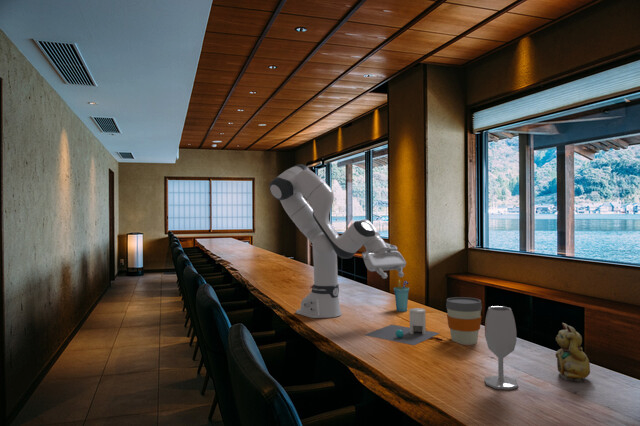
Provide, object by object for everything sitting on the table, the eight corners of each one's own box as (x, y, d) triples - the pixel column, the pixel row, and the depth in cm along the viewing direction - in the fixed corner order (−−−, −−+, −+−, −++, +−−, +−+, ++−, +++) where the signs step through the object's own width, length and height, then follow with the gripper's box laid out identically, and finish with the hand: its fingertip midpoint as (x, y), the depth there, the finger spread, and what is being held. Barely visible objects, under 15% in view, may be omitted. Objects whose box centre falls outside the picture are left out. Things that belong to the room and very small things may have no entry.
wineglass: (478, 379, 129) (477, 305, 129) (508, 377, 130) (507, 304, 130) (493, 391, 120) (491, 312, 120) (524, 389, 121) (523, 311, 121)
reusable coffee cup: (444, 344, 163) (444, 302, 163) (448, 335, 175) (447, 296, 175) (481, 347, 158) (481, 304, 158) (483, 338, 170) (482, 298, 170)
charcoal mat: (363, 336, 175) (363, 334, 175) (391, 325, 191) (391, 324, 190) (414, 346, 161) (414, 345, 161) (440, 334, 176) (440, 333, 176)
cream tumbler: (406, 333, 177) (406, 310, 177) (414, 330, 181) (414, 307, 181) (420, 335, 173) (420, 312, 173) (428, 332, 177) (428, 309, 177)
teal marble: (394, 337, 171) (393, 329, 170) (398, 336, 173) (398, 328, 173) (401, 339, 169) (400, 331, 169) (405, 337, 171) (405, 329, 171)
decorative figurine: (551, 371, 135) (550, 320, 135) (581, 371, 134) (580, 320, 134) (565, 383, 125) (565, 328, 125) (597, 384, 124) (596, 329, 124)
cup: (416, 313, 212) (415, 281, 212) (400, 314, 210) (400, 282, 210) (404, 307, 226) (403, 277, 226) (389, 308, 224) (389, 277, 224)
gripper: (363, 247, 189) (379, 273, 181) (398, 246, 201) (414, 270, 193) (356, 256, 193) (371, 283, 185) (391, 255, 205) (406, 280, 197)
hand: (394, 277), depth 189 cm, fingers open, 8 cm apart
